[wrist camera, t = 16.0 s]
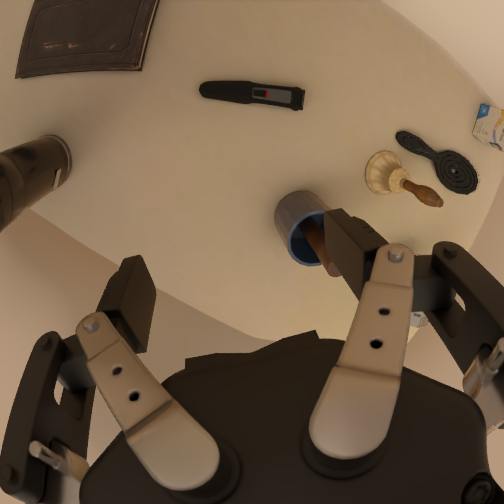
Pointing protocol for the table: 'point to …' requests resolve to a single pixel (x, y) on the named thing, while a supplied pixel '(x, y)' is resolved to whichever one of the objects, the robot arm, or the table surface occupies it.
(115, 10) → the hardcover book
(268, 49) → the table surface
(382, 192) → the hand bell
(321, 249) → the stick
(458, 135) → the table surface
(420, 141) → the hairbrush
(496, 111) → the ink box
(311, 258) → the cup
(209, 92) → the electric trimmer
